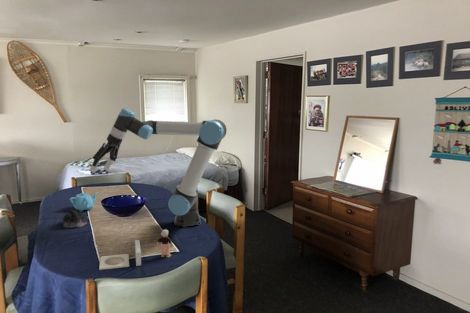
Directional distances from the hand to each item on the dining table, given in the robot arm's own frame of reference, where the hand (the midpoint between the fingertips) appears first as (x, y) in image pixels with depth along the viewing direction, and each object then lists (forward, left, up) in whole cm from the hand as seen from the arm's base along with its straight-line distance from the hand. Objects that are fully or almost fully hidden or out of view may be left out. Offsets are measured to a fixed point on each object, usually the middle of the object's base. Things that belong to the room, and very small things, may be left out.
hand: (98, 170), depth 192 cm
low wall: (-18, +45, -32) cm, 58 cm away
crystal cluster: (+14, -8, -32) cm, 36 cm away
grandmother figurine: (-30, +45, -32) cm, 63 cm away
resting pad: (-8, +46, -32) cm, 57 cm away
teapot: (+11, -36, -32) cm, 49 cm away
